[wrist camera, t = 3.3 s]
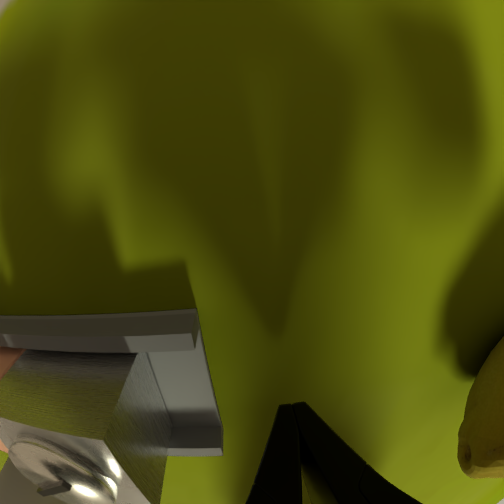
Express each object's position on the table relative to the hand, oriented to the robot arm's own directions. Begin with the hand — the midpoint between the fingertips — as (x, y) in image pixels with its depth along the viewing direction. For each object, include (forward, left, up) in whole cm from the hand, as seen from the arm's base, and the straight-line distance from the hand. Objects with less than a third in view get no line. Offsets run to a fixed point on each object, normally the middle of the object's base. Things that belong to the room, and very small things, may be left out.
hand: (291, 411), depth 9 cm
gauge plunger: (+7, 0, -2) cm, 7 cm away
